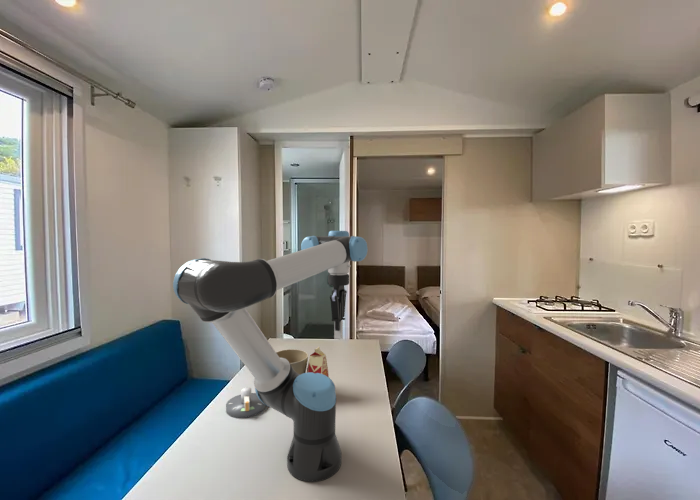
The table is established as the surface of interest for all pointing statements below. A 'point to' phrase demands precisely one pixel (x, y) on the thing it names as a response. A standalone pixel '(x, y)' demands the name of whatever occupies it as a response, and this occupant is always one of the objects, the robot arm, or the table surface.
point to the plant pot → (295, 359)
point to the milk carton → (318, 363)
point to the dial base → (238, 409)
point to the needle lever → (246, 397)
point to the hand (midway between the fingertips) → (338, 338)
